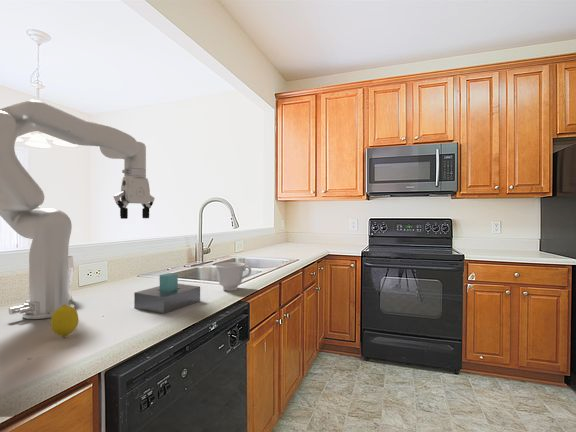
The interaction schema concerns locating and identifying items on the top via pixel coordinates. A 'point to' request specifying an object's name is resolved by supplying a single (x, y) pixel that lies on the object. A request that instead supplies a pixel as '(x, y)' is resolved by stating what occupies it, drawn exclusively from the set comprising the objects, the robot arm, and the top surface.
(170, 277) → the square peg
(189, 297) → the socket block
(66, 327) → the lemon
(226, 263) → the teacup
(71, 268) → the beer glass
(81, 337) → the top surface
